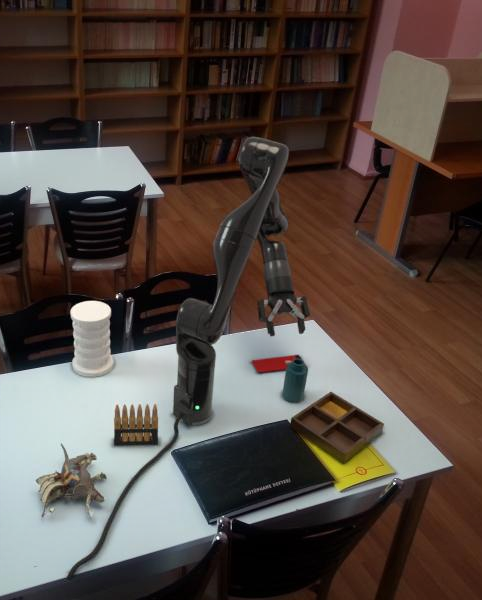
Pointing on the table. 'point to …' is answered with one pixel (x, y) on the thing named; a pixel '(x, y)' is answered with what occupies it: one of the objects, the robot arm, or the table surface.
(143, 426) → the ammunition clip
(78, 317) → the decorative container
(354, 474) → the table surface
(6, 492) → the table surface
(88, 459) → the figurine
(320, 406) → the compartment tray
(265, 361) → the electronic device
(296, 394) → the bottle
